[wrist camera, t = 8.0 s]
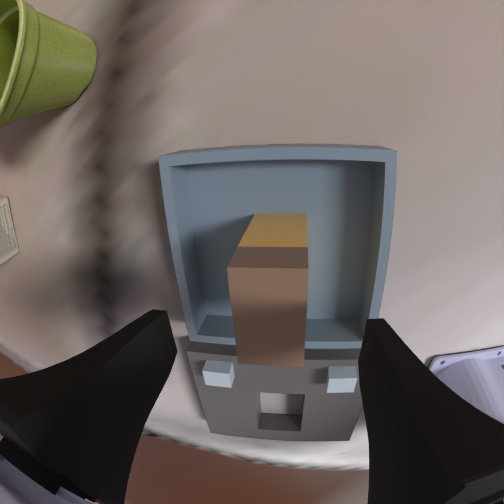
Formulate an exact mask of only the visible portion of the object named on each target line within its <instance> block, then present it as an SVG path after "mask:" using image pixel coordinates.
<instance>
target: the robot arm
mask: <svg viewBox="0 0 504 504" xmlns="http://www.w3.org/2000/svg"><path fill="white" fill-rule="evenodd" d="M176 354H177V348H176V344H175V341H174V337H173V333H172V329H171V326H170V322H169V318H168V314H167V311H164V310H154V309H153V310H151V311H149V312H147V313H146V314H144V315H142V316H141V317H139V318H138V319H136V320H134V321H133V322H131V323H130V324H128V325H127V326H125V327H124V328H122V329H121V330H119V331H118V332H116V333H115V334H113V335H111V336H110V337H108V338H107V339H105V340H103V341H101V342H100V343H98V344H96V345H95V346H93V347H91V348H90V349H88V350H86V351H84V352H82V353H80V354H78V355H76V356H74V357H72V358H70V359H68V360H66V361H63V362H61V363H58V364H56V365H53V366H50V367H48V368H45V369H42V370H39V371H36V372H32V373H29V374H25V375H21V376H16V377H11V378H4V379H0V433H1V435H2V436H4V437H3V439H2V440H1V441H0V504H92V503H90V502H88V501H86V500H85V498H86V499H88V500H90V501H92V502H98V503H99V504H124V500H125V494H126V488H127V482H128V478H129V474H130V470H131V466H132V462H133V459H134V455H135V451H136V448H137V445H138V442H139V439H140V436H141V433H142V431H143V428H144V425H145V423H146V421H147V418H148V416H149V414H150V412H151V410H152V408H153V406H154V404H155V402H156V400H157V398H158V396H159V394H160V392H161V391H162V389H163V387H164V385H165V383H166V381H167V379H168V377H169V374H170V372H171V369H172V366H173V364H174V361H175V357H176ZM358 369H359V384H360V391H361V397H362V402H363V408H364V414H365V420H366V426H367V432H368V440H369V492H368V504H504V346H503V347H498V348H492V349H487V350H481V351H475V352H468V353H461V354H454V355H446V356H438V357H435V358H434V359H433V360H432V362H431V364H430V367H429V369H428V368H427V367H426V366H425V365H424V364H423V363H422V362H421V361H420V360H419V358H418V357H417V356H416V355H415V354H414V353H413V352H412V351H411V350H410V349H409V348H408V346H407V345H406V344H405V343H404V342H403V341H402V339H401V338H400V337H399V336H398V335H397V334H396V332H395V331H394V330H393V329H392V328H391V326H390V325H389V324H388V323H387V322H386V321H385V320H384V318H381V319H367V321H366V327H365V332H364V337H363V341H362V346H361V351H360V355H359V359H358Z"/></svg>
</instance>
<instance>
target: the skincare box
mask: <svg viewBox="0 0 504 504" xmlns="http://www.w3.org/2000/svg"><path fill="white" fill-rule="evenodd" d="M17 253H19V248H18V244H17V240H16V236H15V231H14V227H13V222H12V217H11V212H10V207H9V202H8V198H7V197H0V265H2V264H3V263H4V262H6V261H7V260H9V259H10V258H11V257H13V256H14V255H16V254H17Z"/></svg>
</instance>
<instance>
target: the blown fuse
mask: <svg viewBox="0 0 504 504" xmlns="http://www.w3.org/2000/svg"><path fill="white" fill-rule="evenodd" d="M308 272H309V266H308V238H307V217H306V213H269V214H254V216H253V218H252V220H251V222H250V224H249V226H248V228H247V230H246V231H245V233H244V235H243V237H242V239H241V241H240V243H239V245H238V247H237V249H236V251H235V253H234V254H233V256H232V258H231V260H230V262H229V264H228V266H227V273H228V282H229V292H230V300H231V309H232V318H233V326H234V334H235V342H236V350H237V358H238V364H251V365H267V366H289V367H304V354H305V338H306V321H307V300H308Z"/></svg>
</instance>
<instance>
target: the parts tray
mask: <svg viewBox="0 0 504 504" xmlns="http://www.w3.org/2000/svg"><path fill="white" fill-rule="evenodd" d="M158 159H159V168H160V176H161V184H162V192H163V200H164V207H165V214H166V220H167V227H168V233H169V239H170V245H171V251H172V257H173V263H174V268H175V273H176V279H177V284H178V289H179V294H180V299H181V304H182V308H183V313H184V318H185V322H186V327H187V331H188V335H189V340H190V341H196V342H206V343H216V344H228V345H236V342H235V334H234V326H233V318H232V309H231V300H230V292H229V282H228V273H227V266H228V264H229V262H230V260H231V258H232V256H233V254H234V253H235V251H236V249H237V247H238V245H239V243H240V241H241V239H242V237H243V235H244V233H245V231H246V230H247V228H248V226H249V224H250V222H251V220H252V218H253V216H254V214H269V213H306V217H307V238H308V266H309V272H308V300H307V321H306V338H305V348H309V349H350V348H361V346H362V341H363V337H364V332H365V327H366V321H367V319H378V316H379V311H380V306H381V301H382V296H383V290H384V284H385V278H386V272H387V265H388V258H389V251H390V243H391V235H392V225H393V215H394V203H395V188H396V166H397V151H396V150H392V149H389V148H385V147H381V146H365V145H342V144H268V145H245V146H229V147H215V148H203V149H193V150H183V151H177V152H173V153H169V154H165V155H161V156H158Z"/></svg>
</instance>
